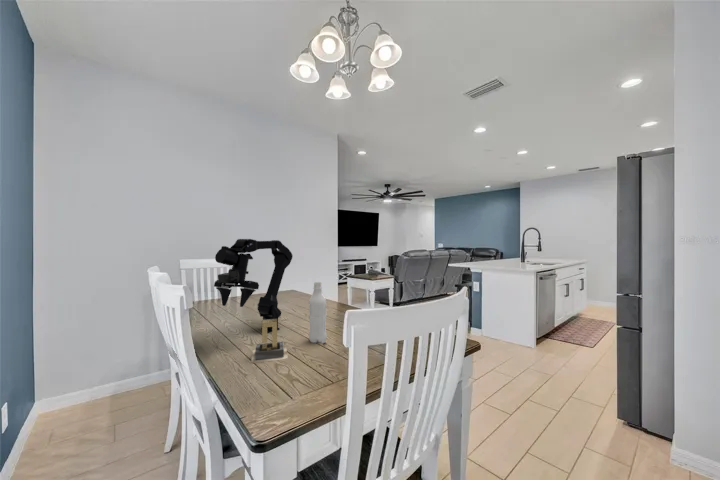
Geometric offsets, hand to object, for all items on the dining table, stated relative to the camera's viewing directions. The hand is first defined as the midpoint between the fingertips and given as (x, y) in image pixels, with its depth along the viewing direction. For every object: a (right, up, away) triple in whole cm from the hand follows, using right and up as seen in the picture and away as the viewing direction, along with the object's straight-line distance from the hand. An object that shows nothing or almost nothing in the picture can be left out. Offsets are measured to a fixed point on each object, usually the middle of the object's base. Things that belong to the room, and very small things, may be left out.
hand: (232, 306), depth 114 cm
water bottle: (+34, -16, +3) cm, 38 cm away
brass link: (+19, -15, -11) cm, 26 cm away
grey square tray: (+19, -16, -11) cm, 27 cm away
